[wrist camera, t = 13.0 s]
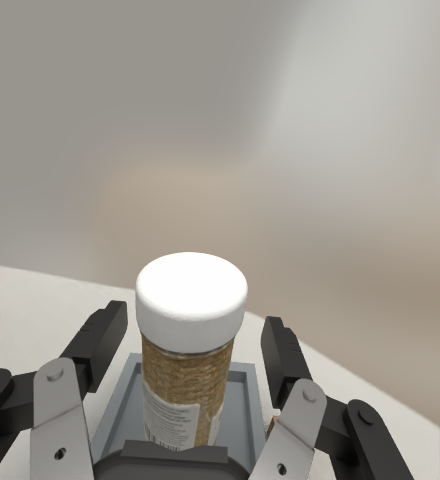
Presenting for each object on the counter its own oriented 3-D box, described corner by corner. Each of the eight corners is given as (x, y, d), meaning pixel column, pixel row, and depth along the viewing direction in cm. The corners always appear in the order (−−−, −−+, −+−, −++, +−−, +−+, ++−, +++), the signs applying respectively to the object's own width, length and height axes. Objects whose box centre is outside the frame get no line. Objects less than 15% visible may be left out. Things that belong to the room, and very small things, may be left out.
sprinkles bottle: (228, 454, 15) (272, 283, 9) (166, 525, 12) (176, 337, 6) (188, 396, 17) (203, 241, 12) (130, 441, 15) (115, 263, 9)
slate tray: (42, 592, 10) (32, 580, 9) (131, 368, 20) (130, 352, 19) (277, 602, 10) (288, 591, 10) (250, 379, 20) (254, 363, 19)
